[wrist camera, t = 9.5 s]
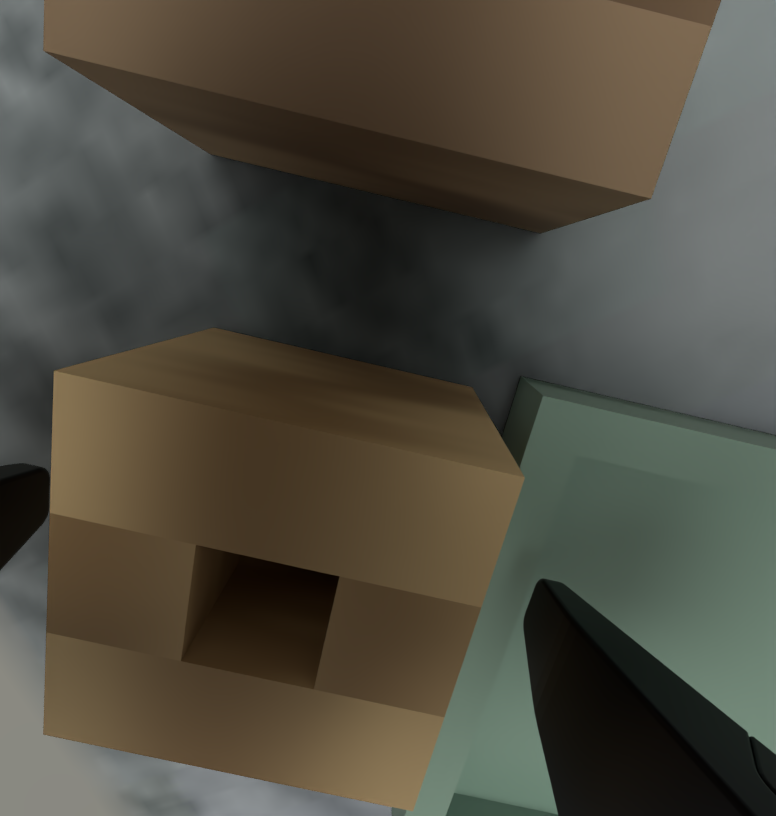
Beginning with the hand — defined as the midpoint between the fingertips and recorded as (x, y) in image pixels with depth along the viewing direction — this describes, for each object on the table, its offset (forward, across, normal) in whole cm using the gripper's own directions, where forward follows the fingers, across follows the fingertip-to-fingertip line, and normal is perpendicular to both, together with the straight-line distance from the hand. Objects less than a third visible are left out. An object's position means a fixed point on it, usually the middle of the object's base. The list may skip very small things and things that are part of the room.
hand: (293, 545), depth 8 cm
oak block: (+3, 0, 0) cm, 3 cm away
